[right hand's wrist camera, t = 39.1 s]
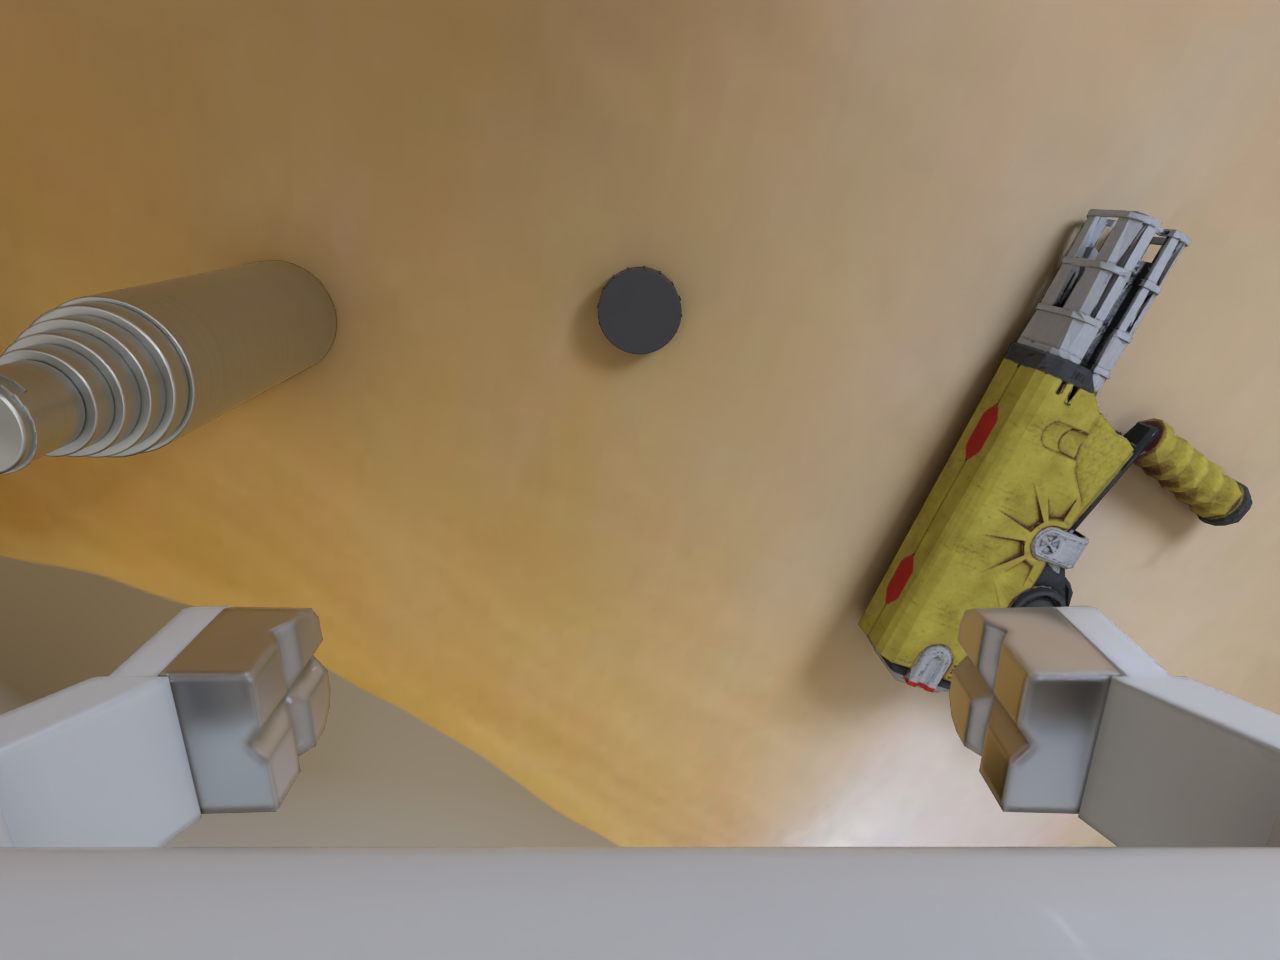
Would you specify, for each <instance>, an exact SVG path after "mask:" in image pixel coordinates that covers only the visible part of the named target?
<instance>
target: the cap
mask: <svg viewBox="0 0 1280 960" xmlns="http://www.w3.org/2000/svg"><path fill="white" fill-rule="evenodd" d="M673 285H674V284H673V282H672V281H671V282H670V280H669V279H668V278H667V277H666V276H664V275H663V274H662V273H661V271H659V272H658V271H656V270H654V269H651V268H647V267H645V266H643V267H633V268H629V267H628V268H627V269H626V270H623V271H621V272H619V273H618V274H616V275H613V277H612V279H611V280H610V281H609V282H608V283H607V285H606V286H605V288H604V287H603V289H602V295H601V298H600V301H599V303H598V306H597V308H598V318H599V324H600V326H601V329H602V331H603V333H604V334H605V336H606V338H607V339H608V340H609V341H610V342H611V343H612V344H613V345H615V346H616V347H617V348H619V349H621V350H623V351H626V352H629V353H633V354H646V353H651V352H654V351H656V350H659V349H660V348H662V347H663V346H665V345H666V344H667V343H668V342H669V341H670V340H671V339H672V338H673V336H674V335H675V333H676V332H677V329H678V327H679V324H680V320H681V317H682V314H681V304H680V300H681V299H680V296H678V294H677V291H676V289H675V287H674V286H673Z"/></svg>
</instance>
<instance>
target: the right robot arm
mask: <svg viewBox="0 0 1280 960" xmlns="http://www.w3.org/2000/svg"><path fill="white" fill-rule="evenodd" d="M322 641H323V638H322V633H321V628H320V622H319V617H318V616H317V614H316V613H315V612H314V611H313V610H312V609H311V608H275V607H230V606H205V607H188V608H183V609H182V610H181V611H180V612H179V613H178V614H177V615H176V616H175V617H173V618H172V619H171V620H170V621H169V622H168V623H167V624H166V625H165V626H164V627H163V628H161V629H160V630H159V631H158V632H157V633H156V634H155V635H154V636H153V637H151V638H150V639H149V640H148V641H147V642H146V643H145V644H144V645H143V646H142V647H140V648H139V649H138V650H137V651H136V652H135V653H134V654H133V655H132V656H130V657H129V658H128V659H127V660H126V661H125V662H124V663H123V664H122V665H121V666H119V667H118V668H117V669H116V670H115V671H114V672H113V673H112V674H111V675H109V676H103V677H102V676H101V677H93V678H90V679H88V680H85V681H83V682H80V683H78V684H75V685H73V686H70V687H68V688H66V689H63V690H61V691H58V692H56V693H53V694H51V695H48V696H46V697H43V698H41V699H38V700H36V701H33V702H31V703H29V704H26V705H24V706H21V707H19V708H16V709H14V710H11V711H9V712H6V713H4V714H1V715H0V960H1280V715H1278V714H1276V713H1273V712H1271V711H1269V710H1266V709H1264V708H1261V707H1259V706H1256V705H1254V704H1251V703H1249V702H1246V701H1244V700H1242V699H1239V698H1237V697H1234V696H1232V695H1229V694H1227V693H1224V692H1222V691H1219V690H1217V689H1214V688H1212V687H1210V686H1207V685H1205V684H1202V683H1200V682H1197V681H1195V680H1192V679H1190V678H1187V677H1180V676H1171V675H1169V674H1168V673H1167V672H1166V671H1165V670H1164V669H1163V668H1162V667H1161V666H1160V665H1158V664H1157V663H1156V662H1155V661H1154V660H1153V659H1152V658H1151V657H1150V656H1149V655H1147V654H1146V653H1145V652H1144V651H1143V650H1142V649H1141V648H1140V647H1139V646H1138V645H1136V644H1135V643H1134V642H1133V641H1132V640H1131V639H1130V638H1129V637H1128V636H1127V635H1125V634H1124V633H1123V632H1122V631H1121V630H1120V629H1119V628H1118V627H1117V626H1116V625H1114V624H1113V623H1112V622H1111V621H1110V620H1109V619H1108V618H1107V617H1106V616H1105V615H1103V614H1102V613H1101V612H1100V611H1099V610H1098V609H1096V608H1093V607H1089V606H1068V607H1017V608H975V609H969V610H965V612H964V615H963V617H962V619H961V621H960V626H959V632H958V637H957V641H958V642H959V644H960V645H961V647H962V648H963V650H964V651H965V653H966V654H967V656H966V657H965V658H964V659H963V660H962V661H961V662H960V663H959V664H958V665H957V666H956V667H955V668H954V669H953V670H952V676H951V685H950V693H949V695H950V705H951V715H952V719H953V722H954V725H955V728H956V731H957V733H958V735H959V737H960V739H961V740H962V742H963V744H964V746H966V747H967V748H969V749H971V750H972V751H974V752H975V753H977V754H979V755H980V756H982V758H981V764H980V770H979V772H980V773H981V775H982V777H983V778H984V780H985V782H986V783H987V785H988V787H989V788H990V790H991V792H992V793H993V795H994V797H995V798H996V800H997V802H998V804H999V805H1000V807H1001V809H1002V810H1003V812H1033V813H1070V814H1079V815H1078V817H1079V818H1080V819H1082V820H1083V821H1084V822H1086V823H1087V824H1088V825H1090V826H1091V827H1092V828H1094V829H1095V830H1096V831H1098V832H1099V833H1100V834H1102V835H1103V836H1104V837H1106V838H1107V839H1108V840H1110V841H1111V842H1112V843H1114V844H1115V845H1116V846H1118V847H163V846H164V845H165V844H167V843H168V842H169V841H171V840H172V839H173V838H175V837H176V836H177V835H179V834H180V833H181V832H183V831H184V830H185V829H187V828H188V827H189V826H191V825H192V824H193V823H195V822H196V821H197V820H199V819H200V818H201V814H209V813H245V812H277V810H278V809H279V807H280V805H281V804H282V802H283V800H284V799H285V797H286V795H287V794H288V792H289V790H290V788H291V787H292V785H293V783H294V782H295V780H296V778H297V777H298V775H299V773H300V771H301V770H300V764H299V758H298V756H300V755H301V754H303V753H305V752H306V751H308V750H309V749H311V748H313V747H314V746H316V744H317V742H318V740H319V738H320V736H321V735H322V733H323V731H324V729H325V725H326V721H327V717H328V713H329V709H330V682H329V675H328V670H327V669H326V668H325V667H324V666H323V665H322V664H321V663H320V662H319V661H318V660H317V659H316V658H315V657H314V656H313V654H314V653H315V651H316V650H317V648H318V647H319V645H320V644H321V642H322Z"/></svg>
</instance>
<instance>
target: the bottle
mask: <svg viewBox="0 0 1280 960" xmlns="http://www.w3.org/2000/svg"><path fill="white" fill-rule="evenodd" d="M336 326H337V322H336V314H335V309H334V306H333V303H332V301H331V298H330V296H329V295H328V293H327V291H326V290H325V288H324V287H323V286H322V284H321V283H320V282H319V281H318V280H317V279H316V278H315V277H314V276H313V275H311V274H310V273H309V272H307V271H306V270H304V269H302V268H301V267H298V266H296V265H294V264H291V263H288V262H283V261H274V260H271V261H263V262H257V263H252V264H247V265H242V266H237V267H232V268H227V269H222V270H217V271H212V272H207V273H202V274H197V275H192V276H187V277H181V278H176V279H171V280H166V281H161V282H156V283H151V284H146V285H141V286H136V287H131V288H126V289H121V290H116V291H111V292H106V293H100V294H95V295H90V296H85V297H80V298H76V299H72V300H70V301H67V302H64V303H63V304H61V305H59V306H57V307H56V308H54V309H52V310H50V311H48V312H46V313H44V314H43V315H41V316H40V317H38V318H37V319H36V320H35V321H34V322H33V323H32V324H31V325H30V326H29V327H28V328H27V329H26V330H25V331H24V332H23V333H21V334H20V336H19V337H18V338H17V339H16V340H15V342H14V343H12V344H11V345H10V346H9V347H8V348H7V349H6V350H5V351H4V353H3V354H2V355H1V356H0V474H9V473H12V472H16V471H19V470H21V469H22V468H24V467H26V466H27V465H29V464H30V462H31V461H33V460H35V459H37V458H39V457H41V456H54V457H58V456H70V457H84V456H85V457H127V456H132V455H136V454H139V453H145V452H150V451H154V450H156V449H159V448H161V447H163V446H165V445H167V444H169V443H171V442H173V441H174V440H176V439H178V438H180V437H182V436H184V435H185V434H187V433H189V432H191V431H193V430H195V429H196V428H198V427H200V426H202V425H204V424H206V423H208V422H209V421H211V420H213V419H215V418H217V417H219V416H220V415H222V414H224V413H226V412H228V411H230V410H231V409H233V408H235V407H237V406H239V405H241V404H242V403H244V402H246V401H248V400H250V399H252V398H253V397H255V396H257V395H259V394H261V393H263V392H264V391H266V390H268V389H270V388H272V387H274V386H275V385H277V384H279V383H281V382H283V381H285V380H286V379H288V378H290V377H292V376H294V375H296V374H297V373H299V372H301V371H303V370H305V369H307V368H308V367H310V366H312V365H314V364H316V363H317V362H318V361H320V360H321V359H322V358H323V357H324V356H325V355H326V354H327V352H328V351H329V350H330V348H331V346H332V344H333V341H334V339H335V334H336Z"/></svg>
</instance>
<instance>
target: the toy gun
mask: <svg viewBox="0 0 1280 960" xmlns="http://www.w3.org/2000/svg"><path fill="white" fill-rule="evenodd" d="M1105 217H1119V219H1118V221H1114V220H1109V219H1107V218H1105ZM1087 218H1088V219H1087V221H1086V222H1085V224H1084V226H1083V228H1082V230H1081V231H1080V233H1079V235H1078V237H1077V238H1076V240H1075V242H1074V244H1073V245H1072V247H1071V249H1070V251H1069V252H1068V254H1067V256H1066V257H1063V259H1062V262H1061V263H1062V266H1061V267H1060V269H1059V271H1058V273H1057V274H1056V276H1055V278H1054V280H1053V281H1052V283H1051V285H1050V287H1049V288H1048V290H1047V292H1046V294H1045V295H1044V297H1043V299H1042V301H1041V303H1038V305H1037V307H1036V309H1037V311H1036V312H1035V314H1034V315H1033V317H1032V318H1031V320H1030V322H1029V323H1028V325H1027V326H1026V328H1025V330H1024V331H1023V333H1022V334H1021V336H1020V337H1019V339H1018V341H1017V342H1015V343H1012V344H1011V346H1010V348H1009V349H1008V351H1007V353H1006V355H1005V357H1004V359H1003V361H1002V363H1001V365H1000V367H999V368H998V370H997V372H996V374H995V376H994V377H993V379H992V381H991V383H990V385H989V387H988V388H987V390H986V392H985V394H984V396H983V397H982V399H981V401H980V403H979V405H978V407H977V408H976V410H975V412H974V414H973V416H972V418H971V419H970V421H969V423H968V425H967V427H966V428H965V430H964V432H963V434H962V436H961V438H960V439H959V441H958V443H957V445H956V447H955V448H954V450H953V452H952V454H951V456H950V458H949V459H948V461H947V463H946V465H945V467H944V469H943V470H942V472H941V474H940V476H939V478H938V479H937V481H936V483H935V485H934V487H933V489H932V490H931V492H930V494H929V496H928V498H927V499H926V501H925V503H924V505H923V507H922V509H921V510H920V512H919V514H918V516H917V518H916V520H915V521H914V523H913V525H912V527H911V529H910V530H909V532H908V534H907V536H906V538H905V540H904V541H903V543H902V545H901V547H900V549H899V550H898V552H897V554H896V556H895V558H894V560H893V561H892V563H891V565H890V567H889V569H888V571H887V572H886V574H885V576H884V578H883V580H882V581H881V583H880V585H879V587H878V589H877V591H876V592H875V594H874V596H873V598H872V600H871V601H870V603H869V605H868V607H867V609H866V611H865V612H864V614H863V616H862V618H861V620H860V622H859V623H858V625H859V626H860V627H861V628H862V630H863V631H864V632H865V634H866V635H867V637H868V639H869V640H870V642H871V644H872V646H873V648H874V650H875V651H876V653H877V655H878V656H879V657H880V659H881V660H882V662H883V663H884V664H885V666H886V667H887V669H888V670H889V671H890V673H891V674H892V676H893V677H894V678H895V680H898V681H901V682H904V683H907V684H909V685H911V686H914V687H916V686H917V687H921V688H923V689H925V690H926V691H930V692H940V691H948V690H950V685H951V676H952V670H953V669H954V668H955V667H956V666H957V665H958V664H959V663H960V662H961V661H962V660H963V659H964V658H965V657H966V656H967V654H966V653H965V651H964V650H963V648H962V647H961V645H960V644H959V642H958V641H957V637H958V632H959V626H960V621H961V619H962V617H963V615H964V612H965V610H969V609H975V608H1017V607H1068V606H1069V604H1070V601H1071V597H1072V594H1073V592H1072V589H1071V585H1070V583H1069V581H1068V580H1067V579H1066V577H1065V569H1069V568H1073V567H1074V565H1075V563H1076V562H1077V560H1078V558H1079V557H1080V555H1081V554H1082V552H1083V550H1084V549H1085V547H1086V546H1087V544H1088V543H1089V540H1088V539H1087V538H1086V537H1085V536H1083V535H1082V534H1080V533H1079V532H1077V531H1076V530H1075V529H1076V528H1077V527H1078V526H1079V525H1080V524H1081V522H1082V521H1083V520H1084V519H1085V518H1086V517H1087V516H1088V514H1089V513H1090V512H1091V511H1092V510H1093V509H1094V507H1095V506H1096V505H1097V504H1098V503H1099V502H1100V500H1101V499H1102V498H1103V497H1104V496H1105V495H1106V494H1107V492H1108V491H1109V490H1110V489H1111V488H1112V487H1113V485H1114V484H1115V483H1116V482H1117V481H1118V480H1119V478H1120V477H1121V476H1122V475H1123V473H1124V472H1125V471H1126V470H1127V469H1128V467H1129V466H1130V465H1131V464H1132V463H1135V464H1137V465H1138V466H1140V467H1142V469H1143V470H1144V471H1145V473H1146V474H1147V475H1149V476H1151V477H1154V478H1156V479H1158V481H1159V483H1160V484H1161V486H1162V487H1163V488H1164V489H1166V490H1170V491H1173V492H1174V494H1175V497H1176V498H1177V499H1178V500H1179V501H1181V502H1184V503H1187V504H1189V505H1190V508H1191V511H1193V512H1195V513H1196V514H1197V515H1198V517H1199V519H1200V520H1201V521H1203V522H1204V523H1207V524H1211V525H1214V526H1224V525H1229V524H1233V523H1237V522H1239V521H1240V520H1241V518H1242V517H1243V516H1244V515H1245V514H1246V513H1247V512H1248V510H1249V509H1250V507H1251V505H1252V500H1251V496H1250V493H1249V490H1248V488H1247V487H1246V486H1245V485H1243V484H1241V483H1239V482H1237V481H1236V480H1234V479H1232V478H1230V477H1228V476H1226V475H1224V474H1223V473H1222V469H1221V467H1219V466H1217V465H1215V464H1213V463H1212V462H1210V461H1208V459H1207V458H1206V457H1205V456H1203V455H1202V454H1201V453H1199V452H1198V451H1197V450H1196V449H1192V447H1191V445H1190V444H1189V442H1188V441H1186V440H1184V439H1182V438H1180V437H1178V436H1176V435H1175V433H1174V430H1173V428H1172V427H1171V426H1169V425H1168V424H1167V423H1165V422H1164V421H1163V420H1159V419H1155V418H1154V419H1150V420H1145V421H1141V422H1138V423H1137V424H1136V425H1135V426H1134V427H1133V428H1132V429H1130V430H1129V431H1128V432H1127V433H1126V434H1125V435H1124V436H1121V433H1120V432H1118V431H1115V430H1114V429H1113V428H1112V426H1111V425H1110V424H1109V422H1108V421H1107V420H1106V418H1105V417H1104V416H1103V414H1101V413H1099V410H1098V406H1097V402H1096V396H1097V394H1098V393H1099V391H1100V389H1101V388H1102V386H1103V384H1104V383H1105V381H1106V379H1109V378H1110V375H1111V373H1110V370H1111V369H1112V367H1113V366H1114V364H1115V363H1116V361H1117V360H1118V358H1119V357H1120V355H1121V354H1122V352H1123V351H1124V349H1125V348H1126V346H1127V345H1128V343H1129V344H1130V342H1131V340H1132V339H1133V338H1132V335H1133V333H1134V332H1135V330H1136V328H1137V327H1138V325H1139V323H1140V322H1141V320H1142V318H1143V317H1144V315H1145V313H1146V312H1147V310H1148V308H1149V307H1150V305H1151V303H1152V302H1153V300H1154V298H1155V297H1156V296H1157V295H1159V293H1160V291H1161V289H1162V288H1161V287H1160V285H1161V283H1162V282H1163V280H1164V279H1165V277H1166V276H1167V274H1168V273H1169V271H1170V269H1171V268H1172V266H1173V265H1174V263H1175V262H1176V260H1177V259H1178V257H1179V255H1180V254H1181V252H1182V251H1183V249H1184V248H1185V247H1187V246H1188V245H1189V244H1190V242H1191V240H1192V239H1191V238H1189V237H1188V236H1187V235H1185V234H1183V233H1181V232H1180V231H1178V230H1169V229H1162V228H1161V227H1159V226H1160V225H1161V224H1162V222H1160V221H1158V220H1156V219H1154V218H1152V217H1150V216H1148V215H1145V214H1143V213H1140V212H1137V211H1124V210H1094V209H1091V210H1089V213H1088V215H1087ZM1105 226H1111V227H1113V229H1112V231H1111V233H1110V234H1109V236H1108V238H1107V239H1106V241H1105V243H1104V244H1103V246H1102V248H1101V250H1100V251H1099V253H1098V251H1097V250H1096V249H1095V248H1093V247H1094V245H1095V244H1096V242H1097V240H1098V238H1099V237H1100V235H1101V233H1102V231H1103V229H1104V228H1105ZM1155 233H1156V234H1157V235H1159V236H1165V237H1166V238H1163V237H1153V236H1154V234H1155ZM1150 244H1156V245H1162V246H1161V248H1160V249H1159V251H1158V253H1157V255H1156V256H1155V258H1154V260H1153V262H1152V263H1149V262H1144V261H1142V260H1141V259H1142V257H1143V256H1144V254H1145V252H1146V250H1147V248H1148V247H1149V245H1150Z"/></svg>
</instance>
